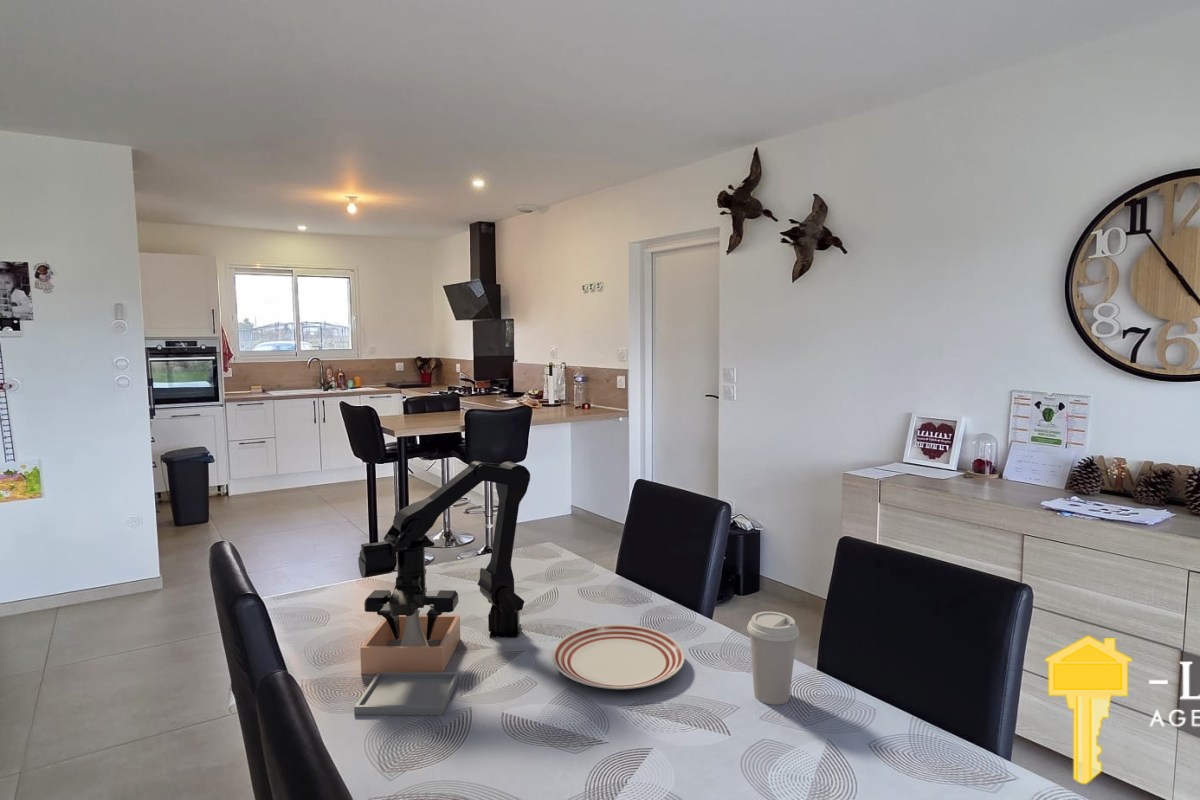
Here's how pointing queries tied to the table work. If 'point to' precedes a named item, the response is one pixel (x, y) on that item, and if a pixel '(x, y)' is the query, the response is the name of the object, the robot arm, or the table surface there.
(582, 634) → the dinner plate
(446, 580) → the table surface
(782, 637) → the coffee cup
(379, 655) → the terracotta box
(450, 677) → the grey tray
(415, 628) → the flask
